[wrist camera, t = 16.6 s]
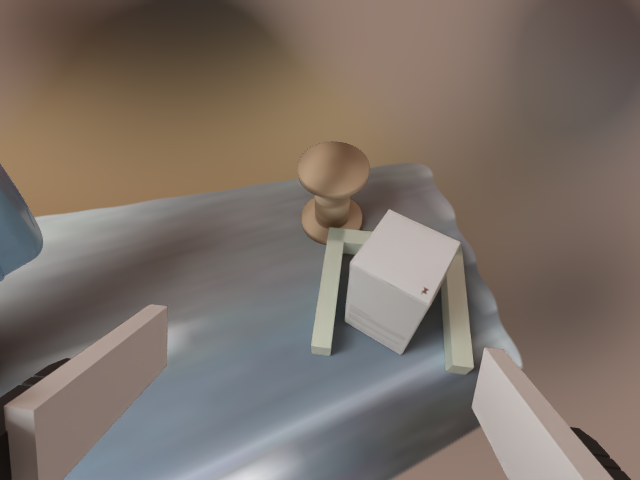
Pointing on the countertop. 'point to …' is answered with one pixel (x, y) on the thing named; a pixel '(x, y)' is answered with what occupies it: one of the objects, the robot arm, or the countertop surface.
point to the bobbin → (332, 187)
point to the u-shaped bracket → (451, 294)
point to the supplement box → (396, 279)
